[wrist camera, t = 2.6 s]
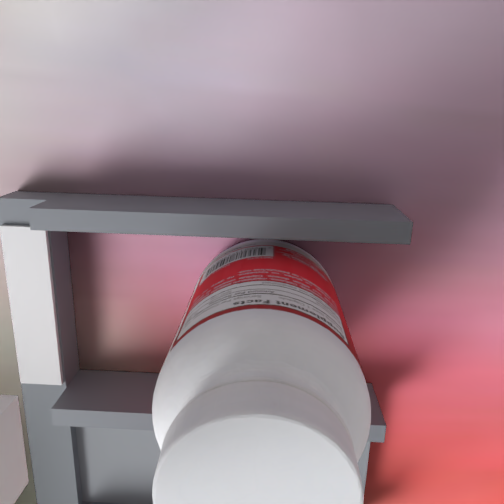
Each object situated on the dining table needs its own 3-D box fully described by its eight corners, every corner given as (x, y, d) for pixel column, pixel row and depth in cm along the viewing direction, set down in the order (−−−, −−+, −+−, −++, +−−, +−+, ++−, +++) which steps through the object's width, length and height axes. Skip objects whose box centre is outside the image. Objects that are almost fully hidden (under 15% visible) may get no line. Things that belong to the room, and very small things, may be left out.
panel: (15, 191, 20) (-28, 206, 17) (392, 204, 19) (413, 222, 17) (67, 613, 27) (42, 673, 24) (342, 631, 27) (350, 695, 24)
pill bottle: (287, 387, 22) (300, 647, 12) (170, 324, 21) (70, 539, 11) (364, 279, 20) (461, 469, 10) (239, 207, 20) (200, 329, 9)
